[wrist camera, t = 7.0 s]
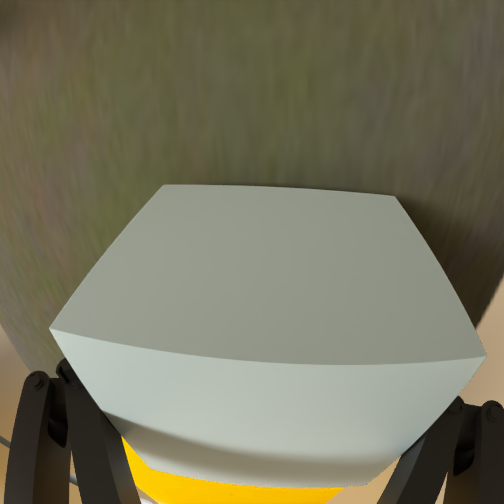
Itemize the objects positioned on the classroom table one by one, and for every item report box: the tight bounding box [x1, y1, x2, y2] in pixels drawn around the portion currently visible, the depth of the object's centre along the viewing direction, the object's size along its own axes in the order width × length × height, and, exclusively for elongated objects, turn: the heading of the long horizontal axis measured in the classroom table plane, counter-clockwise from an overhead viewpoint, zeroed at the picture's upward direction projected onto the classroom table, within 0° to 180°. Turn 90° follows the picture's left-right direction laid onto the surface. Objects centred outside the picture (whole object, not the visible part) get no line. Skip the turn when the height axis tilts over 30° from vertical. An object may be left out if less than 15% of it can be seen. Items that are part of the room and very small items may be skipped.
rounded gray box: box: [49, 185, 487, 488], centre depth 12 cm, size 10×10×9 cm
